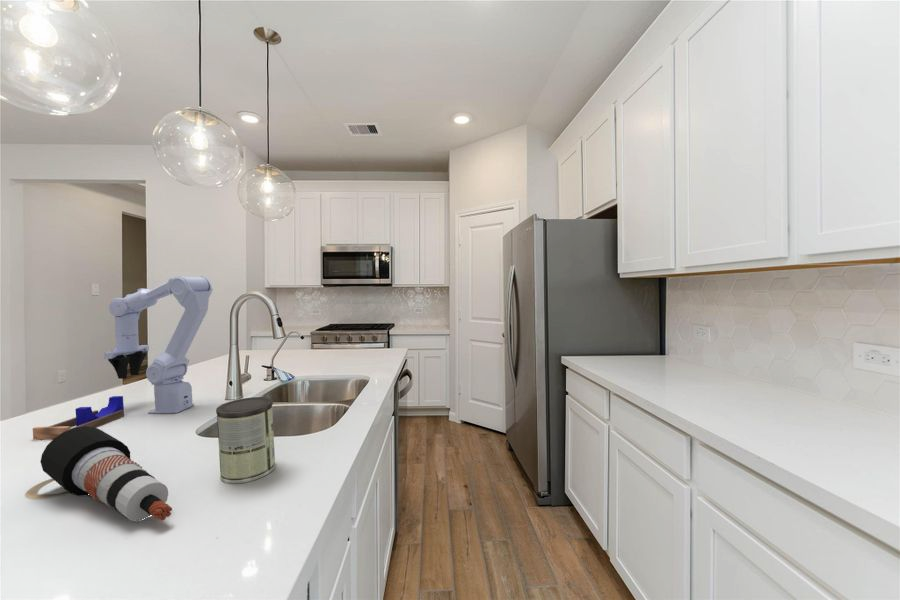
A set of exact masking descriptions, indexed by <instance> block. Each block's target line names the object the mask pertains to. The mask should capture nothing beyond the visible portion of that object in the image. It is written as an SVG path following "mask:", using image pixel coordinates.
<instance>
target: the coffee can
mask: <svg viewBox="0 0 900 600" xmlns="http://www.w3.org/2000/svg"><path fill="white" fill-rule="evenodd" d="M273 403H274V401H273V399H272V398H269V397H265V396H257V397H256V396H255V397H254V396H253V397H252V396H251V397H245V398H239V399H234V400H231V401H227V402H225V403H223V404H221V405H219V406H217V407H216V408H215V413H216V417H217V418H216V420H217V421H216V422H217V435H218V437H217V438H218V453H219V454H218V455H219V469H220V470H219V471H220V472H219V473H220V475H219V476H220V477H219V478H220V481H221V482H223V483H226V484H232V485H233V484H235V485H236V484H243V483H244V484H245V483H249V482H252V481H256V480H258V479H261V478H264V477H266V476H267V475H269V474H271V473H272V472H273V471H274V470H275V468H276V466H277V464H276V457H275V456H276V455H275V436H274V435H275V434H274V417H273V416H274V415H273Z"/></svg>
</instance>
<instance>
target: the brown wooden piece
mask: <svg viewBox="0 0 900 600" xmlns="http://www.w3.org/2000/svg"><path fill="white" fill-rule="evenodd" d="M92 412H93V414H94V415H96V414H97V413H98V412H99V410H92ZM121 417H122V418H124V417H125V409H124V410H120V411H117V412H114V413H112V414H109V415H106V416H103V417H101V418H98V419H95V420H93V421H90V422H87V423H85V424H82V425H79V426H77V424H76V416H75V417H72V418H70V419H67V420H63V421H61V422H59V423H56V424H52V425H49V426H36V427H33V428H32V440H33V441H35V440H41V441H43V440H53V439H54V438H56V437H57V436H59V435H60V434H61V433H63V432H65V431H68V430H71V429H73V428H76V427H83V426H89V427H96V428H98V427H101V426H104V425H107V424H109V423H111V422H115V421H116V420H119V419H122V418H121Z"/></svg>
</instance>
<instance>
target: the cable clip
mask: <svg viewBox="0 0 900 600" xmlns="http://www.w3.org/2000/svg"><path fill="white" fill-rule="evenodd" d="M120 410H124V411H125V408H124V396H123V395H115V396H114V395H112V396H109V398H108V404H107V406H105V407H103V408H101V409H100V410H98V413H97V414H96V415H94V414H93V412H92V411H93V410H92V406H79V407H76V408H75V417H76V424H77V425H76V426H79V425H82V424H85V423H87V422H90V421H93V420H95V419H98V418H101V417H103V416H106V415H109V414H112V413H114V412H117V411H120Z"/></svg>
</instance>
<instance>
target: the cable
mask: <svg viewBox="0 0 900 600" xmlns="http://www.w3.org/2000/svg"><path fill="white" fill-rule="evenodd" d="M75 427H76V426H75ZM72 428H73V429H71V428H70V429H71V430H68V431H65V432H63V433H61V434H60V435H59V436H57V437H56V438H54V439H51V441H50V442H49V443H48V444H47V445H46V446H45V448H44V450H43V452H42V454H41V457H40V466H41V468H42V471H43V472H44V473H45V474H46V475H48V476H49V477H50V478H52V480H53V481H54V482H56V483H57V484H58V485H59V486H61V487H62V489H65V491H67V492H68V493H69V494H71V495H74V496H77V497H81V496H83V497H85V495H86V496H90V497H92V499H93V501H94V500H97V501H98V502H100V503H102V504H103V505H106V506H108V507H109V508H112V509H114V510H115V511H116V512H117V513H119V514H122V515H123V516H125V518H127V519H129V520H130V521H132V522H136V523H137V522H138V521H140V520H142V519H144V518H146V517H148V516H150V515H152V517H154V518H155V519H156V520H160V521H161V522H164V521H165V520H166V519H167V518H170V516H171V514H172V511H173V507H172V506H170V504H168V503H167V500H168V497H169V490H168V487H167V486H166V484H164V483H163V482H161V481H159V480H158V479H157V478H155V476H153V475H152V474H150V473H149V472H148V471H147V470H145V469H143V466H140V464H139V463H137V462H135V461H134V460H132V459H131V451H130V449H129V447H128V446H127V445H126V444H125V443H124V442H122V441H121V440H118V438H116V437H114V436H112V435H111V434H109V433H107V432H105V431H103V430H102V429H99V428H98V427H89V426H83V427H76V428H74V427H72ZM88 494H89V495H88ZM140 522H141V521H140Z"/></svg>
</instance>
